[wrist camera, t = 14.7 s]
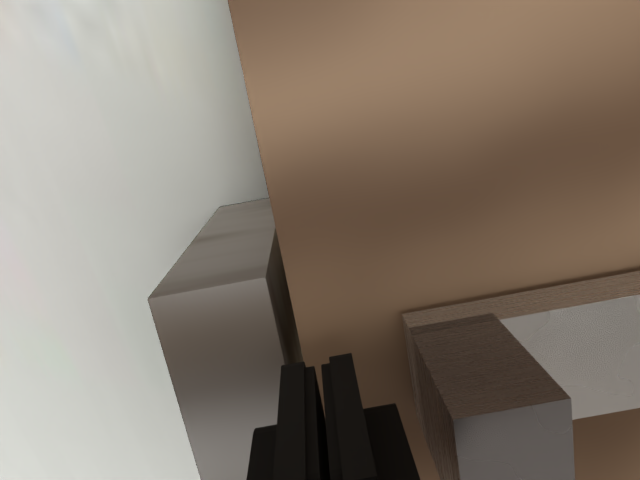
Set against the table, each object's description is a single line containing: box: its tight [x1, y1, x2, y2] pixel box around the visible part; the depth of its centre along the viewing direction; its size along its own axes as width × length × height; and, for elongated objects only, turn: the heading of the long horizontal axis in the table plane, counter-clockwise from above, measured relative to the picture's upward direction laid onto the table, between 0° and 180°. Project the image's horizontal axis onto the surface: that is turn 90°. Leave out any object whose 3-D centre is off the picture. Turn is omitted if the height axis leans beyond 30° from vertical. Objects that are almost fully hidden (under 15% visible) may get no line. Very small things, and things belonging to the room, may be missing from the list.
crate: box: [148, 198, 304, 480], centre depth 17 cm, size 20×28×11 cm
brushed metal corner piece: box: [402, 271, 640, 480], centre depth 11 cm, size 3×8×4 cm, turn 100°
